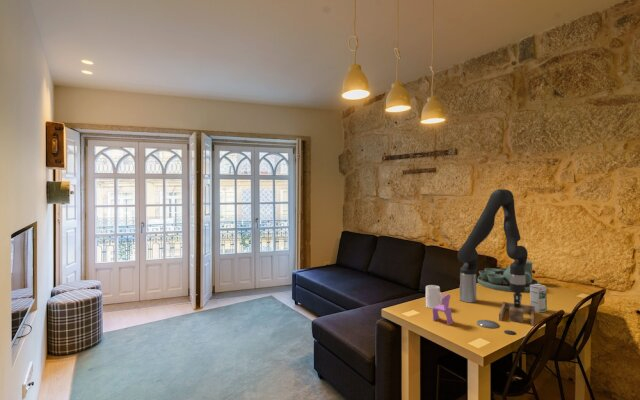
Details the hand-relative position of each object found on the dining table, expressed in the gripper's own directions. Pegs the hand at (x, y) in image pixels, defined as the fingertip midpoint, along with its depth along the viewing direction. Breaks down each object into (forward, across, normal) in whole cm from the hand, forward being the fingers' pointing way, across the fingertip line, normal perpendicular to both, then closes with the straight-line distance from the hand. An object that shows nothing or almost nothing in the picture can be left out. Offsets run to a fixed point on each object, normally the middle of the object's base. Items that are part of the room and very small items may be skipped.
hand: (517, 311), depth 189 cm
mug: (+2, +10, -42) cm, 43 cm away
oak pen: (+2, +3, 0) cm, 3 cm away
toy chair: (+2, +31, -33) cm, 45 cm away
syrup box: (+2, -13, +10) cm, 16 cm away
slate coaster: (+2, +24, -12) cm, 27 cm away
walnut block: (+2, +10, 0) cm, 10 cm away
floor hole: (+2, +30, -2) cm, 30 cm away
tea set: (+2, -66, -10) cm, 67 cm away
